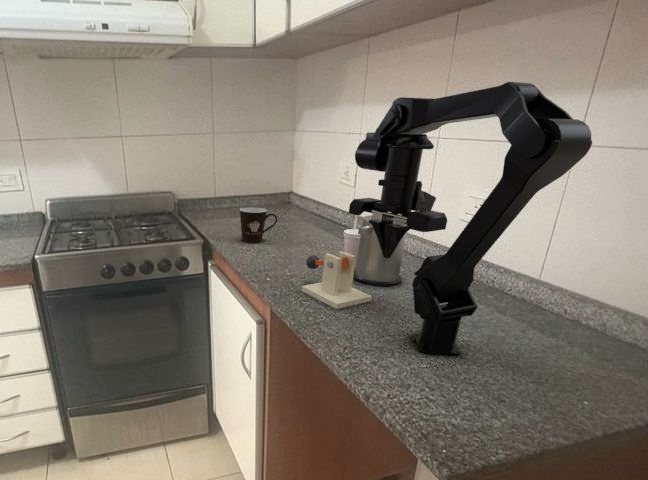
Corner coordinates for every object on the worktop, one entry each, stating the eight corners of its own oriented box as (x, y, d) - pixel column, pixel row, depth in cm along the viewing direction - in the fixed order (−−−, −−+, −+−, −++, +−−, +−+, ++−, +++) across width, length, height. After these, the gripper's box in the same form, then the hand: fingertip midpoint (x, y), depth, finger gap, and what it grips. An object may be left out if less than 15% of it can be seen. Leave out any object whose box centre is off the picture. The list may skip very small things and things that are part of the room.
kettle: (372, 293, 102) (383, 222, 95) (335, 278, 111) (343, 212, 105) (416, 281, 110) (430, 215, 103) (379, 268, 119) (389, 207, 112)
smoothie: (334, 264, 122) (340, 213, 116) (354, 262, 124) (361, 212, 118) (348, 271, 116) (355, 218, 111) (368, 269, 119) (376, 217, 113)
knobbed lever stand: (301, 292, 102) (304, 250, 98) (334, 285, 106) (339, 245, 102) (336, 310, 92) (342, 265, 88) (371, 302, 97) (378, 259, 93)
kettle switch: (303, 269, 105) (303, 256, 104) (314, 267, 106) (313, 254, 106) (338, 271, 94) (337, 256, 94) (349, 269, 96) (349, 254, 95)
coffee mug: (235, 242, 142) (236, 211, 138) (243, 236, 149) (244, 206, 145) (270, 246, 138) (272, 214, 134) (276, 240, 146) (278, 209, 142)
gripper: (476, 178, 76) (456, 265, 82) (392, 168, 91) (380, 242, 97) (433, 181, 71) (415, 273, 77) (352, 170, 86) (342, 248, 92)
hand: (387, 257), depth 86 cm, fingers closed
